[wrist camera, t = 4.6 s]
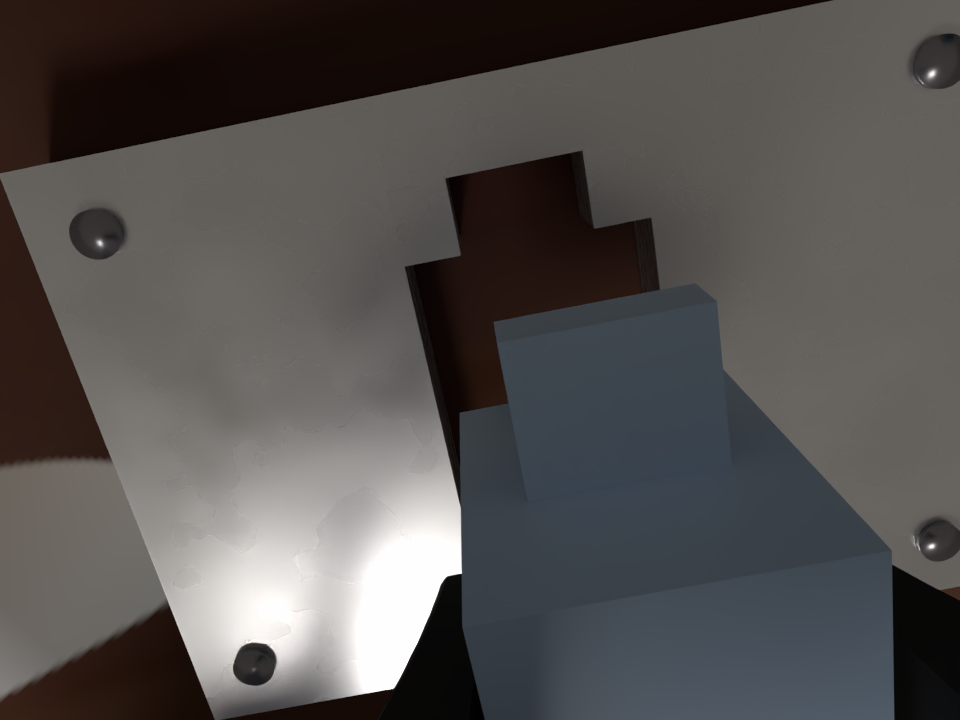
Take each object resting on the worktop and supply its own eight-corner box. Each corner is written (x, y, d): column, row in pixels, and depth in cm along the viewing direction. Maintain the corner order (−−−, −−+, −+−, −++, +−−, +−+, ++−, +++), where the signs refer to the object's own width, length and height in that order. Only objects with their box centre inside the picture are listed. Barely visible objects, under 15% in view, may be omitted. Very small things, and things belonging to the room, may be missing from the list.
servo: (543, 796, 15) (590, 1175, 10) (432, 288, 11) (413, 456, 6) (755, 760, 15) (917, 1126, 9) (706, 234, 11) (915, 363, 6)
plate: (235, 665, 22) (213, 726, 20) (48, 164, 17) (-8, 175, 15) (949, 535, 21) (1003, 584, 19) (954, -25, 17) (1026, -40, 15)
